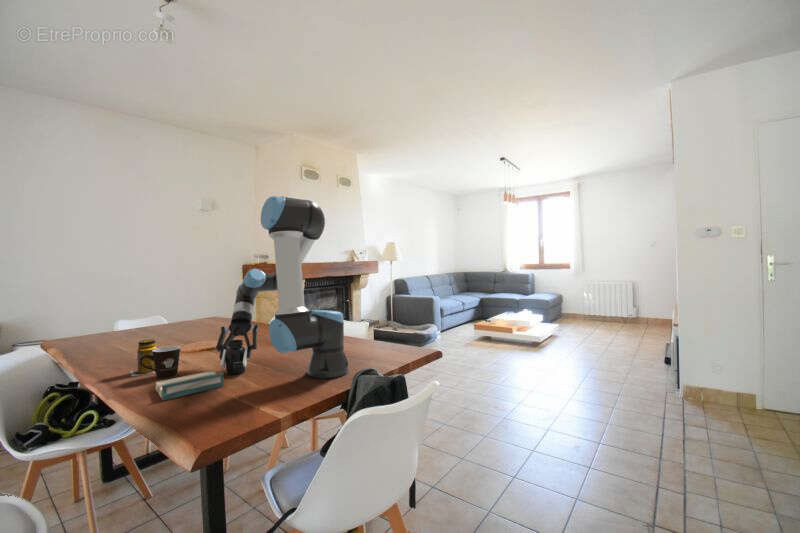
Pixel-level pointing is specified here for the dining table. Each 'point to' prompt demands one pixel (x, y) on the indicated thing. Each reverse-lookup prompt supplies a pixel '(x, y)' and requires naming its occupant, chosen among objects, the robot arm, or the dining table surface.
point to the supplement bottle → (235, 358)
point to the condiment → (144, 350)
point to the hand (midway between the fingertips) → (233, 365)
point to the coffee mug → (165, 361)
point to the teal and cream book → (189, 384)
